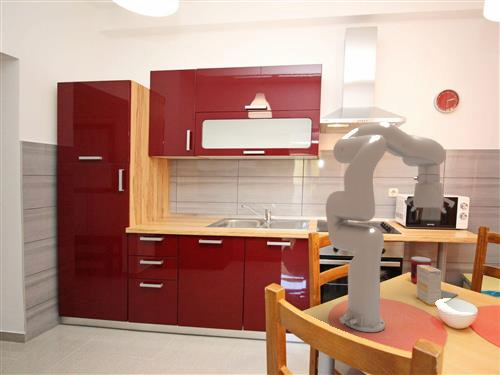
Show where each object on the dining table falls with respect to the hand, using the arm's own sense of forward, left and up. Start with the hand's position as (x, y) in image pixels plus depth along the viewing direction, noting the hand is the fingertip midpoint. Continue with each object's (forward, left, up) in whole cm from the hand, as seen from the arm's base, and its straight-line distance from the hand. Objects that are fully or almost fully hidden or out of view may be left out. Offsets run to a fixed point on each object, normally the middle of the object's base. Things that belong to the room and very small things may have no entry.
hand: (428, 222), depth 119 cm
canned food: (+13, +9, -30) cm, 34 cm away
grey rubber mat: (+3, -3, -29) cm, 30 cm away
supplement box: (-7, -3, -30) cm, 31 cm away
